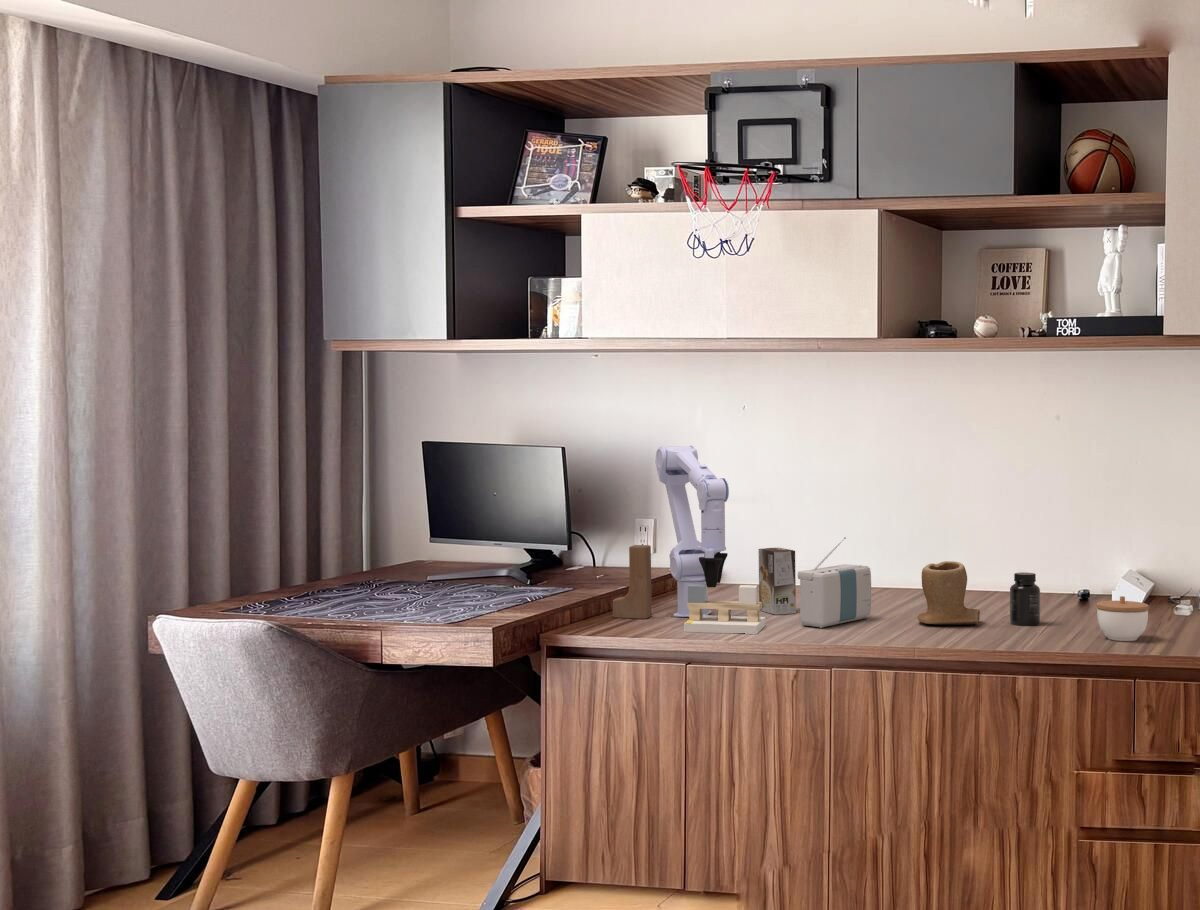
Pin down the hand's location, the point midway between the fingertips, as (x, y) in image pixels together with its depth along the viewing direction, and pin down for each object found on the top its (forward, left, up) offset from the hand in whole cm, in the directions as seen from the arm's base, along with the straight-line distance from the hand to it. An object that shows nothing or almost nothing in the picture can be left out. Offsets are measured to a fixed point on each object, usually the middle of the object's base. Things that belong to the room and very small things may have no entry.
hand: (713, 584), depth 321 cm
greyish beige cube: (+6, +9, -3) cm, 11 cm away
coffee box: (-22, +12, -10) cm, 27 cm away
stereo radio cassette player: (-8, +28, -10) cm, 31 cm away
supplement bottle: (-15, +72, -10) cm, 74 cm away
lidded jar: (+2, +92, -10) cm, 93 cm away
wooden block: (-6, -22, -10) cm, 25 cm away
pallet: (+6, +4, -7) cm, 10 cm away
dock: (+6, +4, -9) cm, 12 cm away
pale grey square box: (+6, -3, -3) cm, 8 cm away
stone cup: (-10, +55, -10) cm, 57 cm away
